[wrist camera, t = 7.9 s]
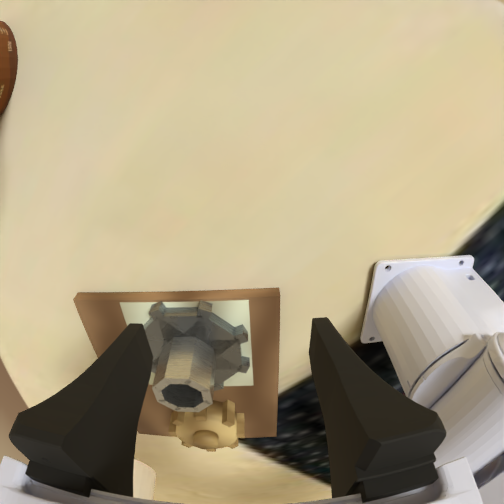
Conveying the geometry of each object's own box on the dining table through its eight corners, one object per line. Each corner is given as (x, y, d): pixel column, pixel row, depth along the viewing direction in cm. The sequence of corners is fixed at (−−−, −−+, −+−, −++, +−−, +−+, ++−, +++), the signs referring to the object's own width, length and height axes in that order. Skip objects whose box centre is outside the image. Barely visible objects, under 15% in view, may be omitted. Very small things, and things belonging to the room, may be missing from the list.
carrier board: (278, 287, 24) (285, 329, 20) (275, 429, 33) (278, 462, 29) (77, 292, 24) (55, 328, 20) (140, 426, 33) (133, 457, 29)
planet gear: (245, 298, 23) (246, 350, 18) (251, 381, 27) (252, 429, 23) (121, 301, 23) (99, 348, 18) (149, 380, 27) (139, 425, 23)
